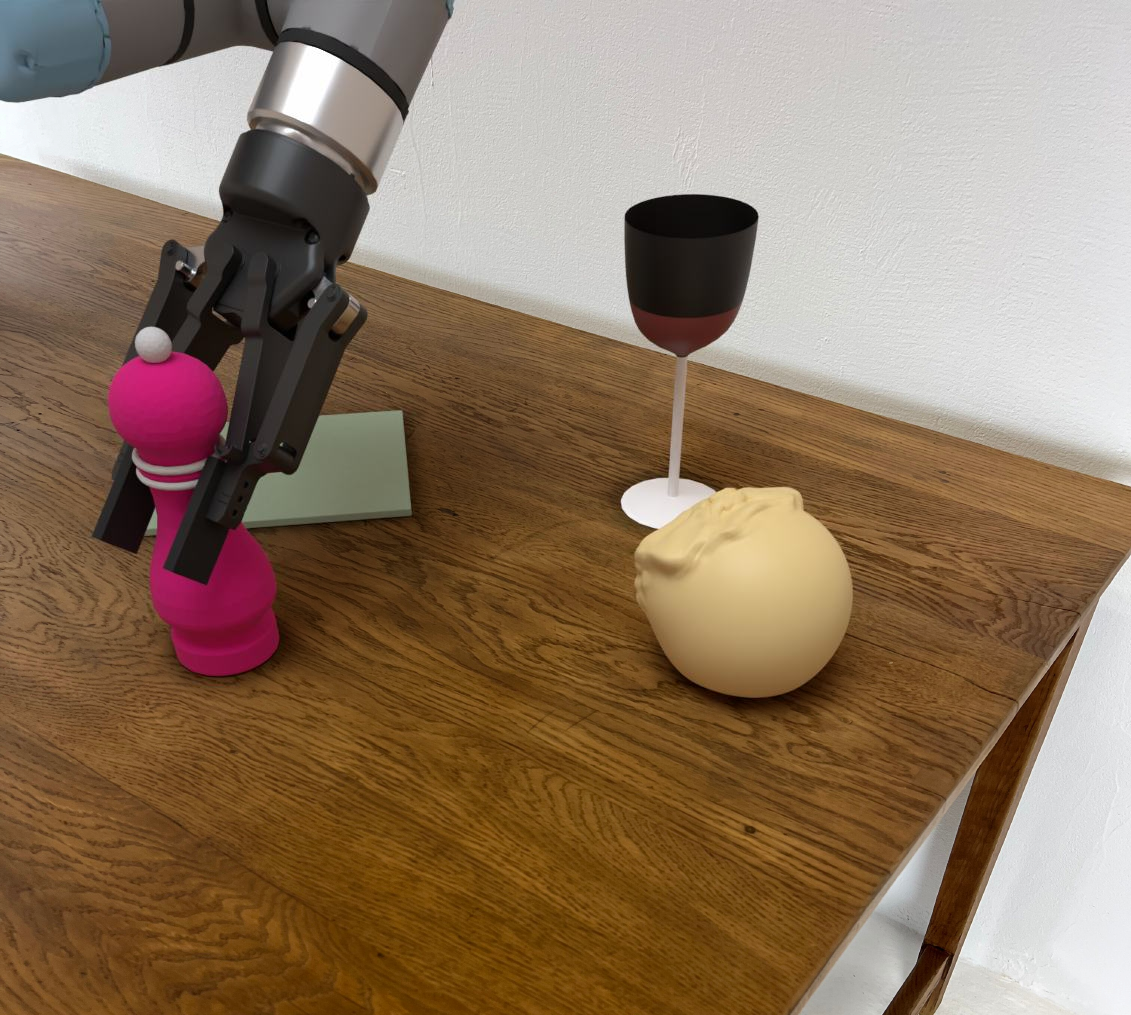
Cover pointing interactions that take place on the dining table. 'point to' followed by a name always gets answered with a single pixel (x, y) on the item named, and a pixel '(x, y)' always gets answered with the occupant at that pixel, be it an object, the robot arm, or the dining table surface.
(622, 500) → the wineglass
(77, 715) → the dining table surface
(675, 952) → the dining table surface
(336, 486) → the placemat
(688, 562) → the sculpture
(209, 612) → the pepper mill
